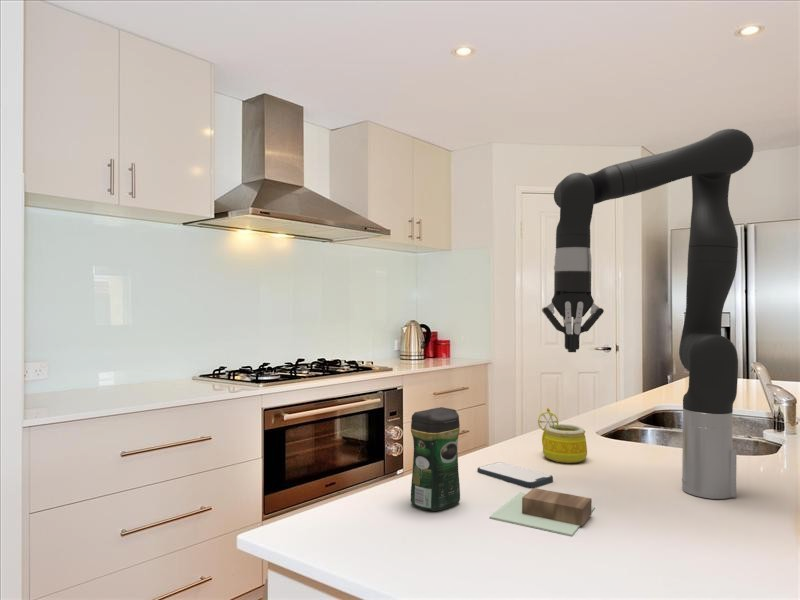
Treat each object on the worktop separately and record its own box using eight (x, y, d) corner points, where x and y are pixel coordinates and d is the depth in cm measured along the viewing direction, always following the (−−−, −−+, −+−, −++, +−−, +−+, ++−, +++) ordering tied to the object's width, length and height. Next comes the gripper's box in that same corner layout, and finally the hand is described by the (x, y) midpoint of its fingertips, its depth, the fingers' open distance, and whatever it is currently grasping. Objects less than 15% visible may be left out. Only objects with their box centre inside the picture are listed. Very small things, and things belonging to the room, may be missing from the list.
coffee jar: (436, 493, 120) (437, 403, 120) (466, 503, 114) (467, 408, 114) (402, 504, 113) (403, 408, 113) (432, 515, 107) (433, 414, 107)
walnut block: (591, 498, 108) (533, 487, 114) (582, 508, 102) (522, 497, 108) (591, 514, 108) (533, 503, 114) (582, 526, 102) (522, 513, 108)
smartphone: (474, 474, 135) (530, 491, 123) (474, 467, 135) (530, 483, 123) (499, 468, 141) (555, 482, 129) (499, 461, 141) (555, 475, 129)
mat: (594, 508, 112) (595, 506, 112) (572, 536, 98) (572, 534, 98) (520, 493, 120) (520, 492, 120) (489, 518, 106) (489, 516, 106)
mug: (596, 461, 146) (597, 412, 146) (567, 467, 139) (568, 417, 139) (556, 449, 156) (556, 405, 156) (527, 455, 150) (528, 409, 150)
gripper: (543, 269, 120) (542, 353, 120) (609, 269, 119) (608, 354, 119) (538, 270, 128) (537, 350, 128) (601, 271, 126) (600, 351, 126)
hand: (571, 351), depth 123 cm, fingers closed
